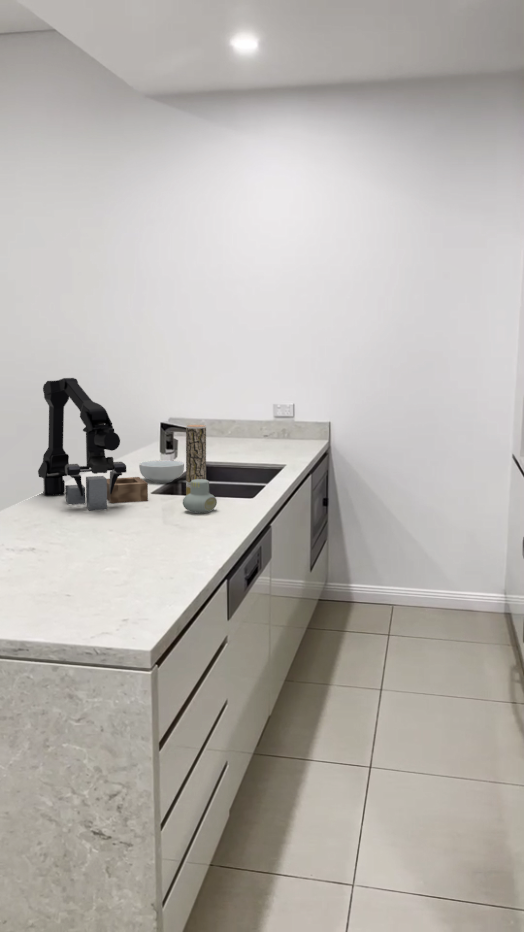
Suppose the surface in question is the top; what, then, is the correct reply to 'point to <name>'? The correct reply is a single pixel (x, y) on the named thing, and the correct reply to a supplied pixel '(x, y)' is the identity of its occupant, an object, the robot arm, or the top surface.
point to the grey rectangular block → (96, 493)
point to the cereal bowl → (161, 470)
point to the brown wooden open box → (128, 490)
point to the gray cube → (74, 494)
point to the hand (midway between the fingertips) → (96, 494)
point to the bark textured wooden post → (195, 454)
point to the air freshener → (199, 497)
